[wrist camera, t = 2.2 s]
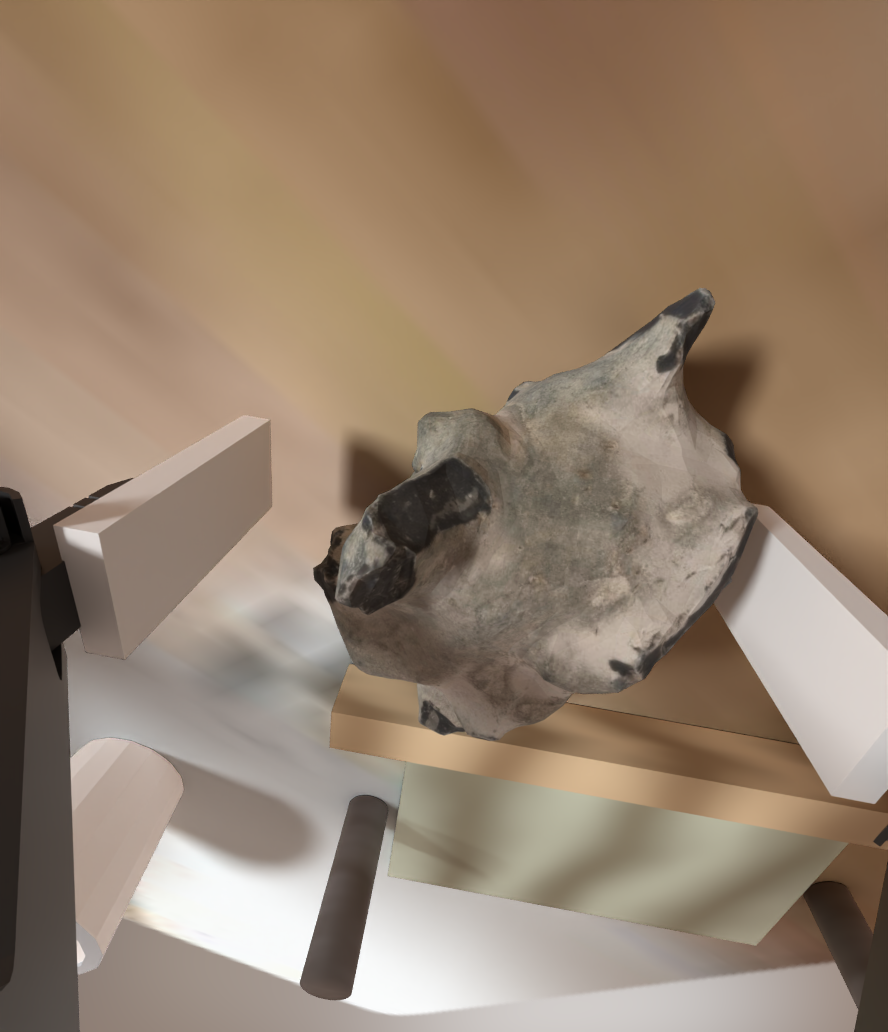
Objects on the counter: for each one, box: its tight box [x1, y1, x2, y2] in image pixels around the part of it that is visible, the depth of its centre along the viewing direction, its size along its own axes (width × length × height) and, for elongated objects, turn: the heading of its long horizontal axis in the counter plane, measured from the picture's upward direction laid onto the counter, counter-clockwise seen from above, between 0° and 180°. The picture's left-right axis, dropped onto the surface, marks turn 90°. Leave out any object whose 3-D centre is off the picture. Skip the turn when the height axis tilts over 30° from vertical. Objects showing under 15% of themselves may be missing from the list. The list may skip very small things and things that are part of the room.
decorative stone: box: [313, 288, 758, 741], centre depth 13 cm, size 16×9×10 cm, turn 157°
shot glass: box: [70, 738, 184, 974], centre depth 23 cm, size 7×7×7 cm
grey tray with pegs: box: [300, 664, 888, 1010], centre depth 21 cm, size 26×14×7 cm, turn 82°
